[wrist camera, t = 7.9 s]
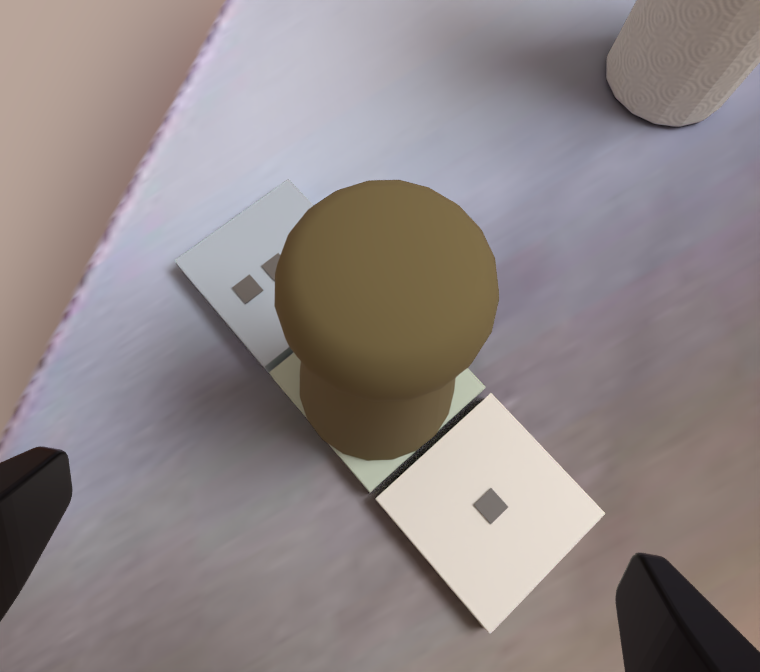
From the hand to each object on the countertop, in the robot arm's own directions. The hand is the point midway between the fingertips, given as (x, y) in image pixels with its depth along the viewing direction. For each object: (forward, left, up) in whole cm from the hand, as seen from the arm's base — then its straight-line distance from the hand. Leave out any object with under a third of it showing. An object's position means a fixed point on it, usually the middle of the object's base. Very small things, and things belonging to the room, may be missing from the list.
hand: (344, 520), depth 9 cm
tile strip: (+4, +3, -13) cm, 14 cm away
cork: (+4, +3, -12) cm, 14 cm away
